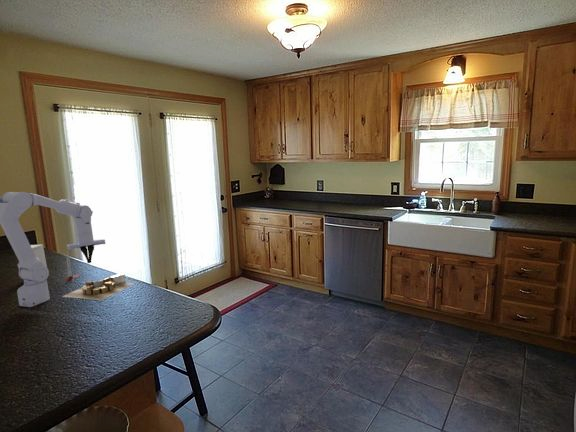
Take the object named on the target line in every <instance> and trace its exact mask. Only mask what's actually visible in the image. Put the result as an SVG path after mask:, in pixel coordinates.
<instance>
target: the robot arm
mask: <svg viewBox="0 0 576 432" xmlns="http://www.w3.org/2000/svg"><path fill="white" fill-rule="evenodd" d="M37 205H38V206H40V207H41V206H42V207H46V208H51V209H54V210H55V211H56V212H57V214H62V215H66V216H69V217H72V218H74V221H75V227H76V234H77V241H78V242H76V243H74V242H73V243H69V244H66V247H67V251H70V250H74V249H80V251H81V253H82V254H83V255H84V257H85V259H86V261H87V264H91V263H92V257H93V254H94V251H95V246H98V245H106V239H104V238H103V239H94V234H93V233H94V232H93V226H92V216H93V213H94V212H93V211H94V210H92V209H91V207H90V206H89V205H81V204H80V202H73V201H70V199H68V198H64V199H60V200H55V199H51V198H49V197H45V196H42V195H39V194H36V193H28V192H26V191H18V192H17V191H7V192H4V193H3V194H2V195H1V196H0V226H1V228H2V231H3V233H4V234H5V236H6V238H7V240H8V242H9V244H10V246H11V248H12V250H13V252H14V254H15V256H16V258H17V260H18V263H17V265H16V266H17V267H18V277H19V278H21V279H22V280H23V285H21V286H20V287H18V289H17V291H16V294H17V295H16V296H17V300H18V305H19V306H20V307H26V308H31V307H34V306H35V307H36V306H37V305H40V304H42V303H45V302H47V301H49V300H50V299H51V297H50V291H49V286H48V280H47V279H48V277H49V276H50V271H49V268H48V266H47V267H45V266H44V265H43V264H42V262H41V261H40V260H39V259H38V258H37V257H36V256H35V254H34V252H33V250H32V248H31V246H30V245H31V244H30V242H29V239H28V237H27V235H26V234H25V230H24V229H23V227H22V225H21V223H20V221H19V219H20V217H21V215H22V214H24V213H25V212H26V211H27V210H28V209H29V208H30V207H31V206H37ZM26 308H23V309H26Z"/></svg>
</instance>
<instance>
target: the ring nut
mask: <svg viewBox="0 0 576 432" xmlns="http://www.w3.org/2000/svg"><path fill="white" fill-rule="evenodd" d="M102 280H103V282H104V286H101V287H95V286H94V282H95V281H96V280H95V281H85V282H84V283H85V284H84V285H82V287H81V288H82V291H83V294H86V295H92V294H93V295H96V294H100V293H105V292H108V291H111V290H113V289H114V288H115V287H116V284H119V283H127V282H126V281H127V280H126V274H125V273H123V272H122V273H121V272H120V273H118V274H115V275H111V276H109V277H105V278H103V279H102Z"/></svg>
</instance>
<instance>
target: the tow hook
mask: <svg viewBox="0 0 576 432" xmlns="http://www.w3.org/2000/svg"><path fill="white" fill-rule="evenodd" d="M66 267H67V276H66V277H65V281H71V282H72V281H74V278H76V277H78V276H79V274H75V275H73V273H72V269H71V259H70V256H69V254H68V253H67V254H66Z"/></svg>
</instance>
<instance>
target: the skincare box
mask: <svg viewBox="0 0 576 432" xmlns="http://www.w3.org/2000/svg"><path fill="white" fill-rule="evenodd" d="M30 246H31V248H32V250H33V252H34V254H35V256H36V257H37V258H38V259H39V260H40V261H41V262H42V264H43V265H44V266H45V267H47V268H48V265H47V259H46V255H45V249H44V244H30Z"/></svg>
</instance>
